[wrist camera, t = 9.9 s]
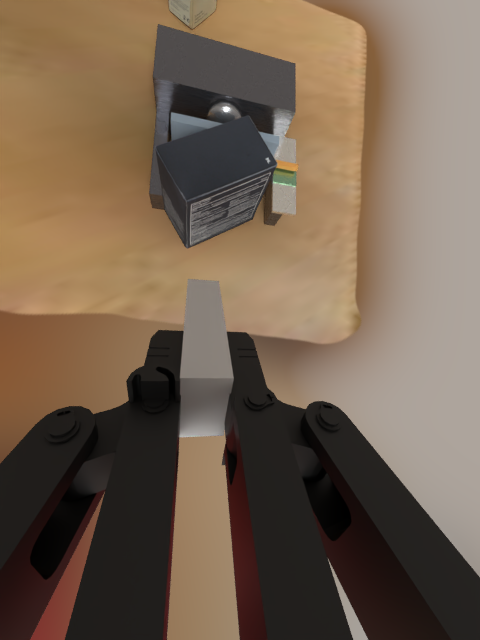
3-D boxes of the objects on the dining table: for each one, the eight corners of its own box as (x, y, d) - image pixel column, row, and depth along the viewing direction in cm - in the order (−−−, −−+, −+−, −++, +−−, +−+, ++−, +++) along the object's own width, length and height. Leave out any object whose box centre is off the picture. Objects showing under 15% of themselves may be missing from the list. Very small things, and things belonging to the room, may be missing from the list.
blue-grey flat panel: (173, 159, 33) (171, 112, 27) (287, 180, 36) (309, 142, 30) (173, 165, 33) (170, 120, 27) (287, 186, 36) (309, 150, 30)
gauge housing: (162, 87, 35) (157, 24, 29) (286, 117, 39) (307, 67, 32) (152, 207, 33) (144, 169, 26) (285, 227, 36) (309, 198, 30)
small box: (231, 179, 36) (249, 109, 26) (254, 219, 36) (282, 165, 26) (161, 207, 33) (151, 141, 23) (186, 250, 33) (187, 203, 23)
